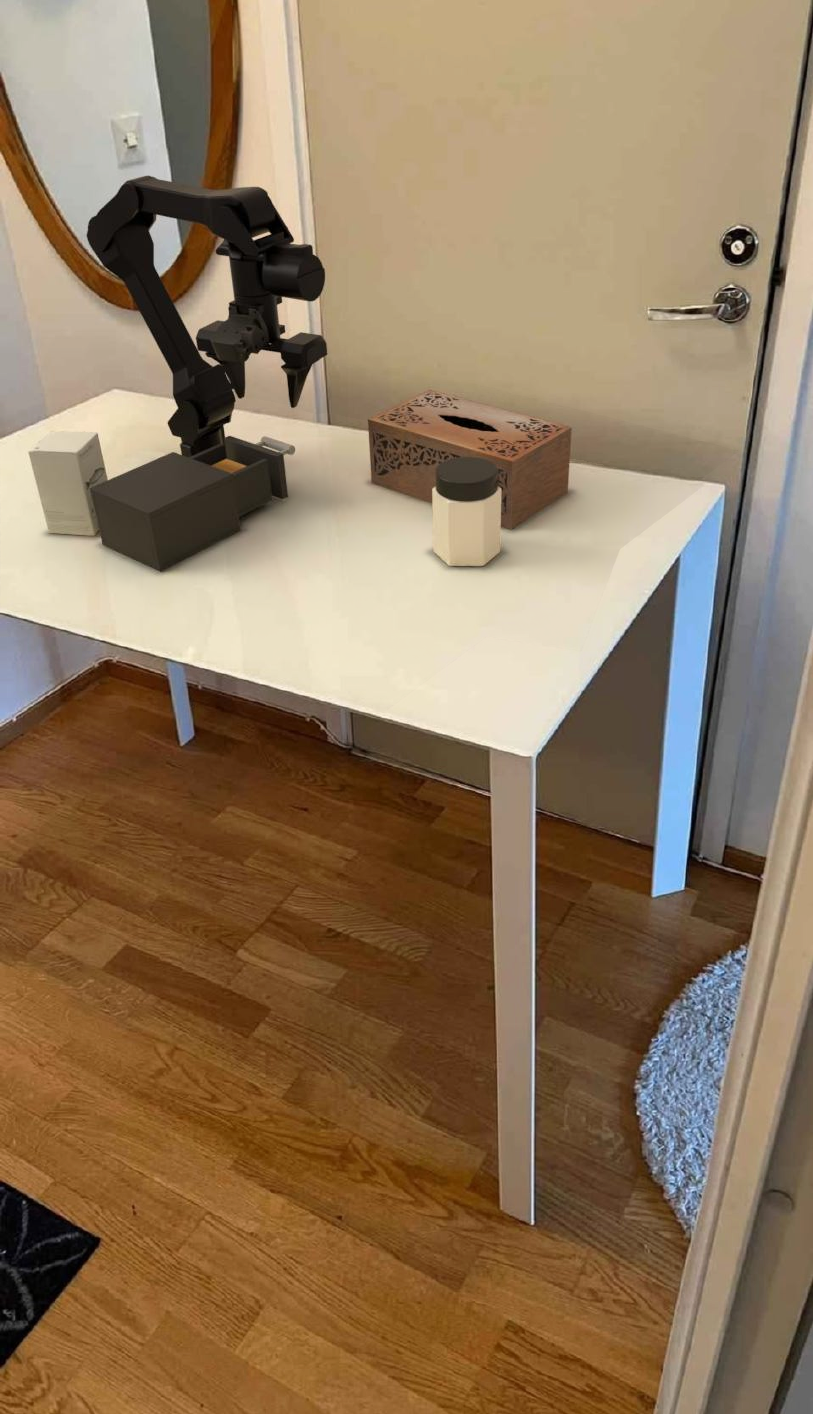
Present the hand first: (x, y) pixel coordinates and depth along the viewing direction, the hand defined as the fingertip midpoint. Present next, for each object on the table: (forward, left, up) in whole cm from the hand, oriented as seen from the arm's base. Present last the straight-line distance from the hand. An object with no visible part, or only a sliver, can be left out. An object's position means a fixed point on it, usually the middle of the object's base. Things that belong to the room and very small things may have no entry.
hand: (267, 402), depth 155 cm
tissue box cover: (-16, +24, -13) cm, 32 cm away
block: (+9, 0, -11) cm, 14 cm away
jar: (0, +36, -13) cm, 38 cm away
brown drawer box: (+21, 0, -13) cm, 24 cm away
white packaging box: (+26, -14, -13) cm, 32 cm away
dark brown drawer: (+8, 0, -12) cm, 14 cm away
